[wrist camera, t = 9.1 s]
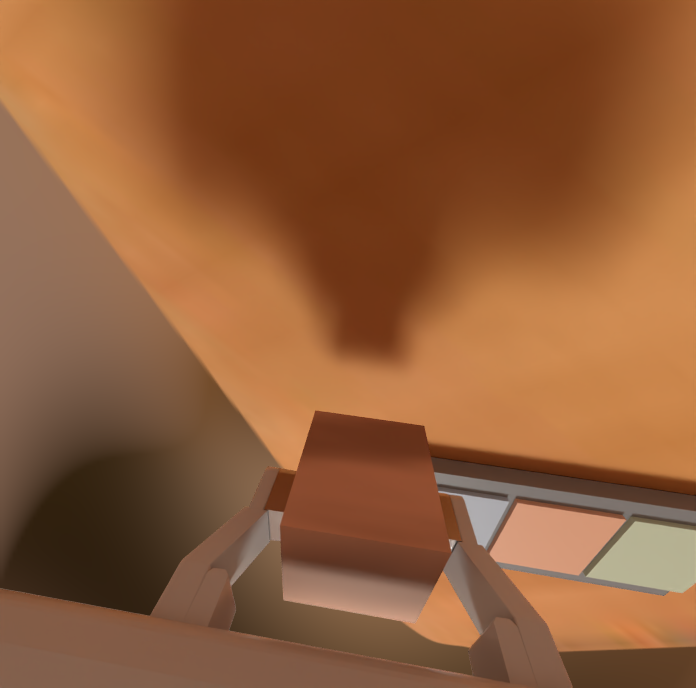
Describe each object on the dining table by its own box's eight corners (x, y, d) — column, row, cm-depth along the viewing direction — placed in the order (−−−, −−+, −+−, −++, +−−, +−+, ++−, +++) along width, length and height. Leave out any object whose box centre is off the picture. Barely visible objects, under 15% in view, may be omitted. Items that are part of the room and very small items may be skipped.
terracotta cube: (315, 410, 11) (279, 525, 7) (424, 425, 11) (451, 553, 7) (312, 480, 13) (283, 600, 9) (403, 494, 13) (415, 623, 9)
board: (407, 453, 18) (409, 472, 16) (734, 501, 17) (766, 526, 15) (387, 532, 22) (388, 553, 20) (652, 576, 20) (671, 601, 19)
